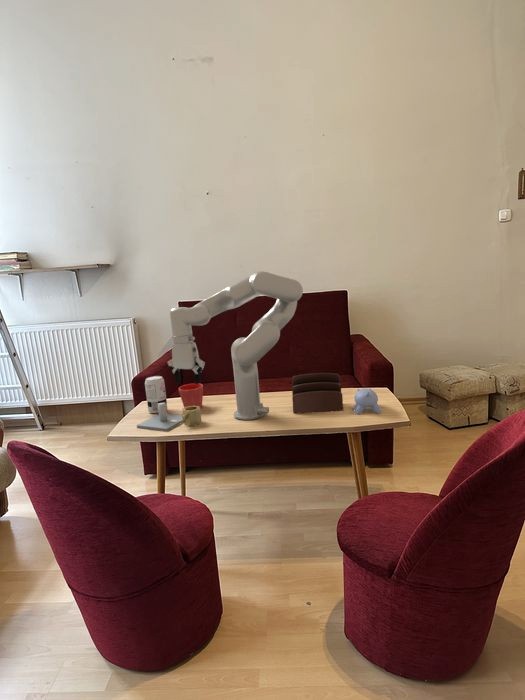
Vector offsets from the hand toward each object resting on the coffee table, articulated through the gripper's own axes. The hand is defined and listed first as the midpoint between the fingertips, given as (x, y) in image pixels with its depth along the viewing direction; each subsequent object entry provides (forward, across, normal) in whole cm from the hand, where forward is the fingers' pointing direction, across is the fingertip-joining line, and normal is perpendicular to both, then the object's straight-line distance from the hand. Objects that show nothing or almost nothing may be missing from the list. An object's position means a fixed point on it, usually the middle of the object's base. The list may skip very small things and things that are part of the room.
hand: (188, 382), depth 176 cm
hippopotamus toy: (+17, -61, -32) cm, 71 cm away
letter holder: (+17, -42, -29) cm, 53 cm away
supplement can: (+16, +25, -8) cm, 31 cm away
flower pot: (+17, +12, -16) cm, 26 cm away
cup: (+16, 0, +1) cm, 16 cm away
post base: (+16, +12, +4) cm, 20 cm away
